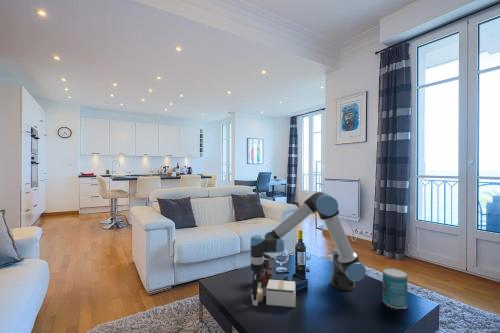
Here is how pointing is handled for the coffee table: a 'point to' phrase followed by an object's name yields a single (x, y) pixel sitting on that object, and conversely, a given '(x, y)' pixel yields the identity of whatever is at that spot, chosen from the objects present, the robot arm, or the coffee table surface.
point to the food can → (395, 288)
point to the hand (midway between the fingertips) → (257, 298)
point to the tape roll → (260, 295)
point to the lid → (281, 285)
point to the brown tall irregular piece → (266, 276)
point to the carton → (280, 298)
